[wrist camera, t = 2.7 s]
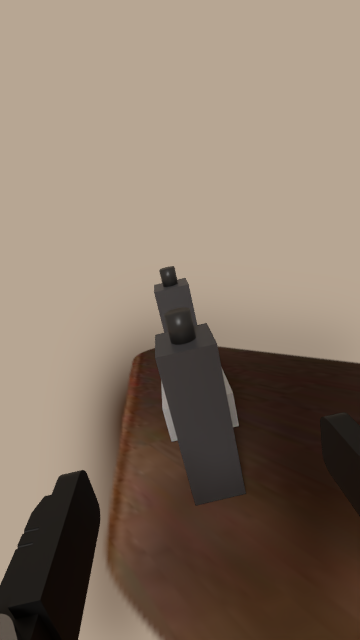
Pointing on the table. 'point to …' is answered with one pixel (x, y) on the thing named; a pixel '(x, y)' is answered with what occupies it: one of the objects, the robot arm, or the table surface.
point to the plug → (199, 407)
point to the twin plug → (172, 294)
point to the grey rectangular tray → (169, 418)
